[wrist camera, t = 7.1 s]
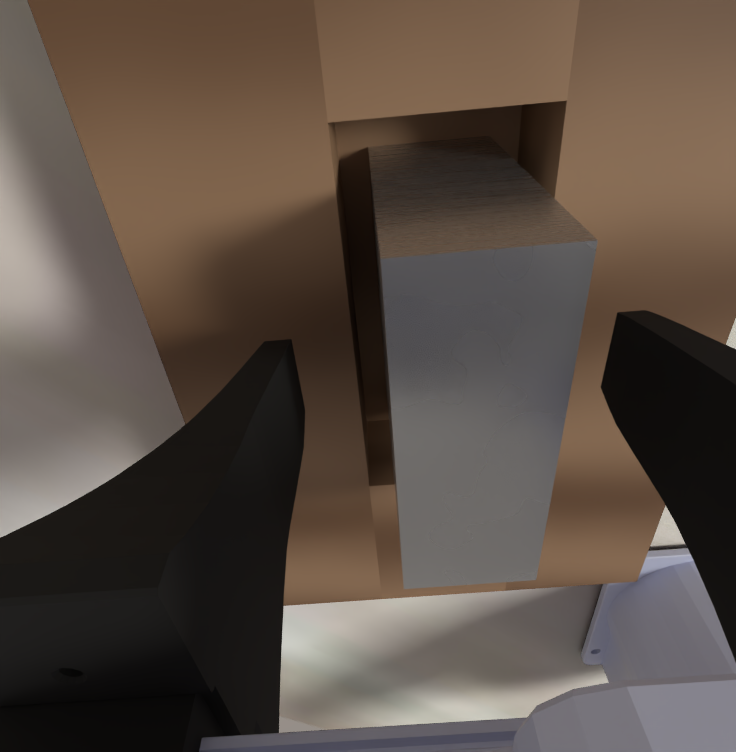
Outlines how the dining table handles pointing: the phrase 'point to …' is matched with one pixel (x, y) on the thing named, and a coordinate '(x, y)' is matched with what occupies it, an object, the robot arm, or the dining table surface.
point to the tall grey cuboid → (474, 353)
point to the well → (356, 223)
